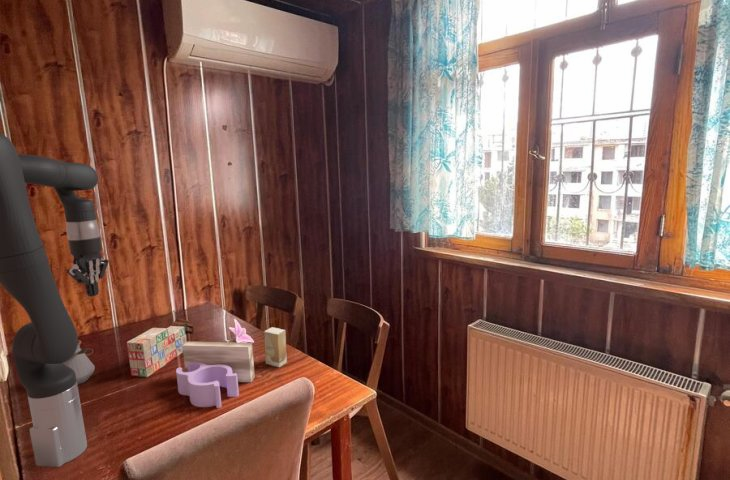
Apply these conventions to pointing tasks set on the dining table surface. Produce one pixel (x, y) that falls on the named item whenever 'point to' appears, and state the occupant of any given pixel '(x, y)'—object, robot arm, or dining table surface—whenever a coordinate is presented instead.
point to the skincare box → (275, 346)
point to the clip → (206, 383)
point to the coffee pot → (81, 364)
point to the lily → (240, 334)
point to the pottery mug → (183, 324)
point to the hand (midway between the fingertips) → (93, 295)
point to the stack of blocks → (155, 349)
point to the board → (222, 356)
